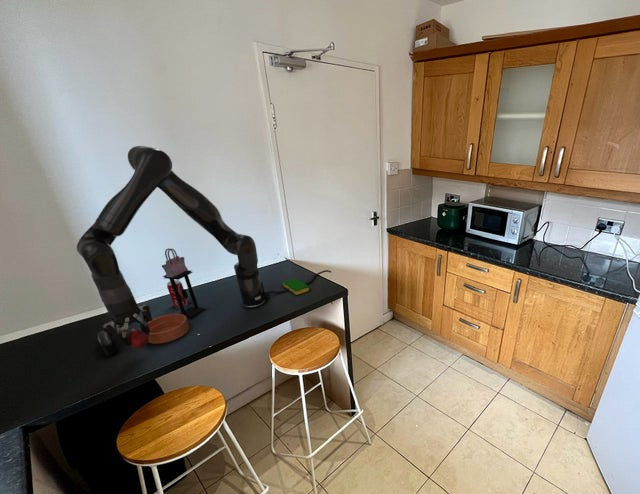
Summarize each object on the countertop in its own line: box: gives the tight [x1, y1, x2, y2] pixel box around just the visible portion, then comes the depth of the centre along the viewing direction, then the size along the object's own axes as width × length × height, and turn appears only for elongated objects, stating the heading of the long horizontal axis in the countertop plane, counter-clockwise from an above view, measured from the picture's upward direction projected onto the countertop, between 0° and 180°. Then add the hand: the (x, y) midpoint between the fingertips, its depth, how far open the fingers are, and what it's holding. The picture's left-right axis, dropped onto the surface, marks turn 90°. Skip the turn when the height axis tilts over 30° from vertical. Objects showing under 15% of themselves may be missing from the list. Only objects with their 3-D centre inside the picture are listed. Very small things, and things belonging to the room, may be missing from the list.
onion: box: [127, 328, 149, 349], centre depth 109 cm, size 6×6×8 cm
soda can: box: [166, 279, 189, 309], centre depth 141 cm, size 6×6×12 cm
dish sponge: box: [282, 277, 310, 296], centre depth 159 cm, size 7×14×2 cm, turn 44°
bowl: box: [147, 313, 190, 345], centre depth 123 cm, size 14×14×5 cm
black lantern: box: [161, 247, 206, 319], centre depth 131 cm, size 10×8×30 cm
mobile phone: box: [97, 330, 117, 356], centre depth 115 cm, size 5×3×15 cm
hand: (137, 339), depth 109 cm, fingers closed on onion, 5 cm apart
